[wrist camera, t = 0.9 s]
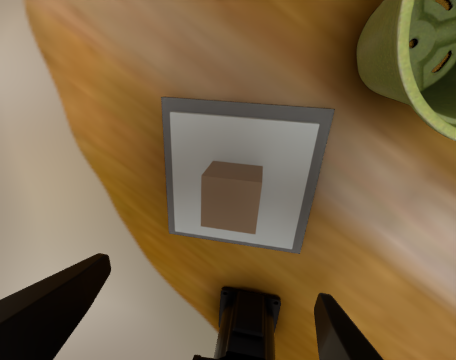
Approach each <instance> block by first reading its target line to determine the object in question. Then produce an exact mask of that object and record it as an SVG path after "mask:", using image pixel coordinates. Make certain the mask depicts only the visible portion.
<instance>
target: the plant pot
mask: <svg viewBox="0 0 456 360" xmlns="http://www.w3.org/2000/svg"><path fill="white" fill-rule="evenodd" d="M449 1H450V2H451V5H452V9H451V10H448V11H447V10H445V8H444V7H442V6H441V5H440V4H439V3H437V2H435V0H384V1H383V2H382V3H381V4H380V6H379V7H378V8H377V9H376V10H375V11H374V12H373V14H372V15H371V16H370V18H369V19H368V21H367V23H366V24H365V26H364V28H363V30H362V33H361V35H360V38H359V41H358V44H357V66H358V72H359V75H360V77H361V79H362V81H363V82H364V84H365V85H366V86H367V87H368V88H369V89H371V90H372V91H374V92H376V93H378V94H380V95H383V96H385V97H388V98H391V99H394V100H397V101H400V102H403V103H405V104H408V105H411V107H412V108H413V110H414V111H415V112H416V113H417V114H418V116H419V117H420V118H421V119H422V120H423V121H424V122H425V123H426V124H427V125H429V126H430V127H431V128H432V129H434V130H435V131H437V132H439V133H440V134H442V135H444V136H445V137H447V138H450V139H452V140H455V141H456V0H449ZM414 38H415V39H417V40H418V43H417V45H416V46H415V47H414V48H410V47H409V42H410V41H411V40H412V39H414ZM450 50H451V56H450V58H449V60H448V61H447V62H446V63H445V65H444V66H443V67H442V68H441V69H440V70H439V71H438V72H435V73H432V70H433V69H434V68H435V67H436V66H437V65H438V64H439V63H440V62H441V61H442V60H443V58H444V57H445V56H446V54H447V53H448V51H450Z"/></svg>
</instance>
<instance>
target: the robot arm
mask: <svg viewBox="0 0 456 360" xmlns="http://www.w3.org/2000/svg"><path fill="white" fill-rule="evenodd" d="M110 272H111V266H110V260H109V256H108V255H106V254H101V253H98V254H96V255H94V256H92V257H89V258H87V259H85V260H83V261H81V262H79V263H77V264H75V265H73V266H71V267H69V268H66V269H64V270H62V271H60V272H58V273H56V274H54V275H52V276H49V277H47V278H45V279H43V280H41V281H39V282H37V283H35V284H33V285H31V286H28V287H26V288H24V289H22V290H20V291H18V292H16V293H14V294H12V295H9V296H7V297H5V298H3V299H1V300H0V360H53V359H54V358H55V356H56V355H57V353H58V352H59V350H60V349H61V348H62V346H63V345H64V343H65V342H66V341H67V339H68V338H69V336H70V335H71V334H72V332H73V331H74V329H75V328H76V327H77V325H78V323H79V322H80V321H81V320H82V318H83V317H84V315H85V314H86V313H87V311H88V310H89V308H90V307H91V305H92V303H93V302H94V300H95V298H96V297H97V295H98V293H99V292H100V290H101V288H102V286H103V285H104V283H105V281H106V280H107V278H108V276H109V275H110ZM280 306H281V299H280V298H279V297H277V296H271V295H266V294H260V293H255V292H249V291H244V290H239V289H233V288H228V287H223V288H222V290H221V298H220V313H219V327H220V329H219V334H218V339H217V344H216V350H215V355H214V358H206V357H201V356H200V355H194V357H193V360H275V343H274V332H275V328H276V324H277V319H278V315H279V310H280ZM314 316H315V325H316V334H317V343H318V352H319V359H320V360H383V358H382V357H381V356H380V355H379V353H378V352H377V351H376V350H375V348H374V347H373V346H372V345H371V343H370V342H369V341H368V340H367V339H366V337H365V336H364V335H363V334H362V332H361V331H360V330H359V329H358V327H357V326H356V325H355V324H354V323H353V321H352V320H351V319H350V318H349V316H348V315H347V314H346V313H345V311H344V310H343V309H342V308H341V307H340V305H339V304H338V303H337V302H336V300H335V299H334V298H333V297H332V296H331V295H330V294H325V293H319V294H318V297H317V300H316V304H315V307H314Z"/></svg>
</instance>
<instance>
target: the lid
mask: <svg viewBox="0 0 456 360" xmlns="http://www.w3.org/2000/svg"><path fill="white" fill-rule="evenodd" d="M170 128H171V151H172V174H173V196H174V219H175V231H176V232H183V233H189V234H196V235H202V236H209V237H215V238H221V239H228V240H234V241H241V242H247V243H254V244H260V245H267V246H273V247H280V248H286V249H292V247H293V242H294V237H295V233H296V228H297V224H298V219H299V215H300V210H301V206H302V201H303V197H304V192H305V188H306V183H307V178H308V174H309V169H310V165H311V160H312V156H313V151H314V147H315V142H316V138H317V133H318V129H319V124H318V123H314V122H302V121H289V120H277V119H264V118H252V117H239V116H226V115H214V114H201V113H189V112H176V111H173V112H170Z"/></svg>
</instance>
